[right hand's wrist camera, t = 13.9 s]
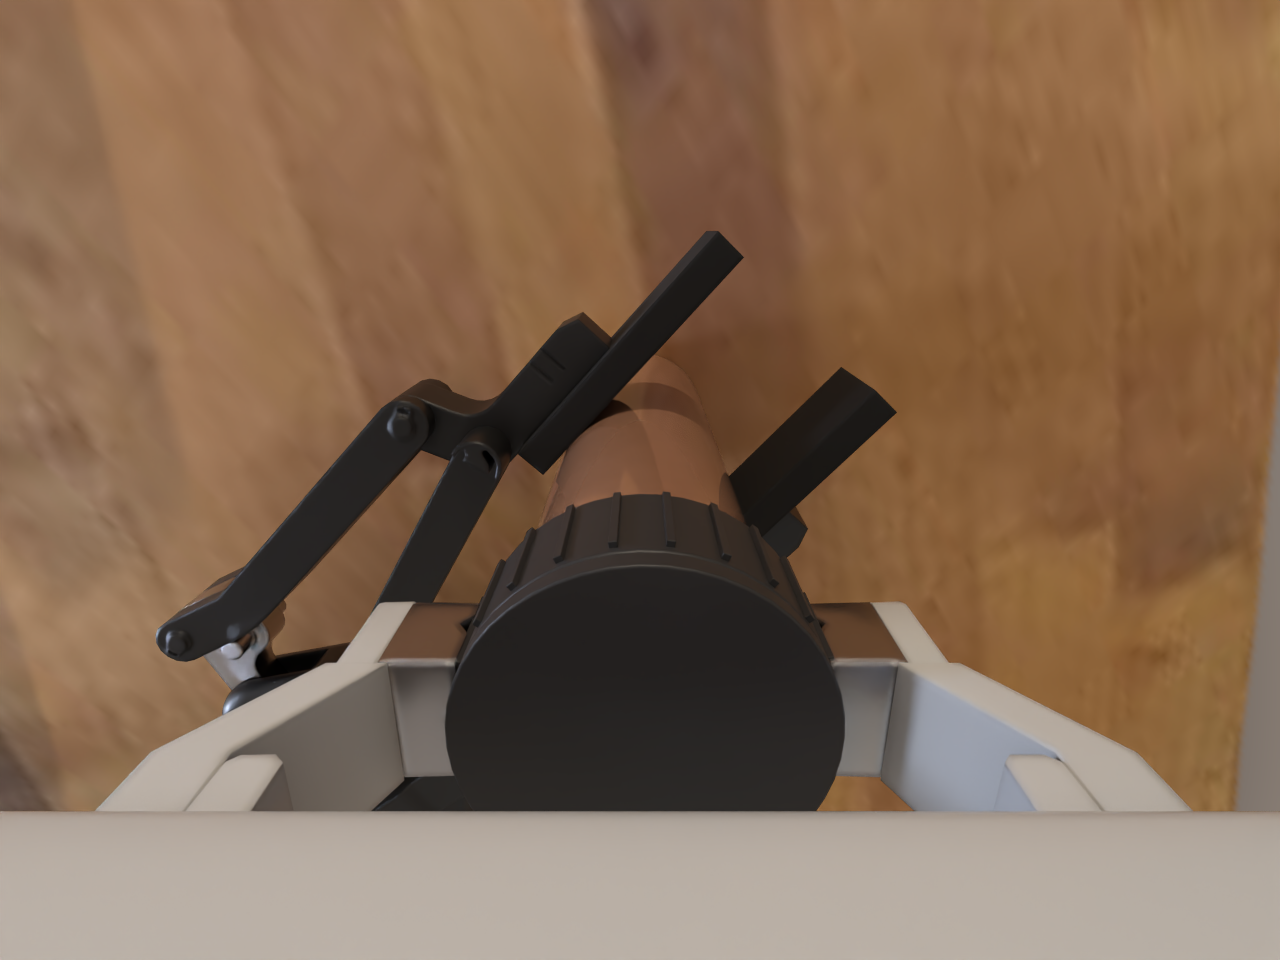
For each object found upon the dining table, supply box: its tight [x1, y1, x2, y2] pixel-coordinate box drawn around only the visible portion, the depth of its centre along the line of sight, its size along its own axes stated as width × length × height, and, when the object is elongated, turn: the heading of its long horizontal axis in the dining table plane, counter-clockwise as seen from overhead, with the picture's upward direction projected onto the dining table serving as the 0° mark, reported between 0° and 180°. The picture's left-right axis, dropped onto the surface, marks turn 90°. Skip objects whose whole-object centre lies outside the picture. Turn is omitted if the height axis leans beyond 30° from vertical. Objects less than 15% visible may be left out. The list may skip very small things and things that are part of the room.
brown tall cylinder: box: [537, 355, 747, 529], centre depth 16 cm, size 4×4×16 cm
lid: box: [445, 491, 845, 811], centre depth 9 cm, size 5×5×2 cm
